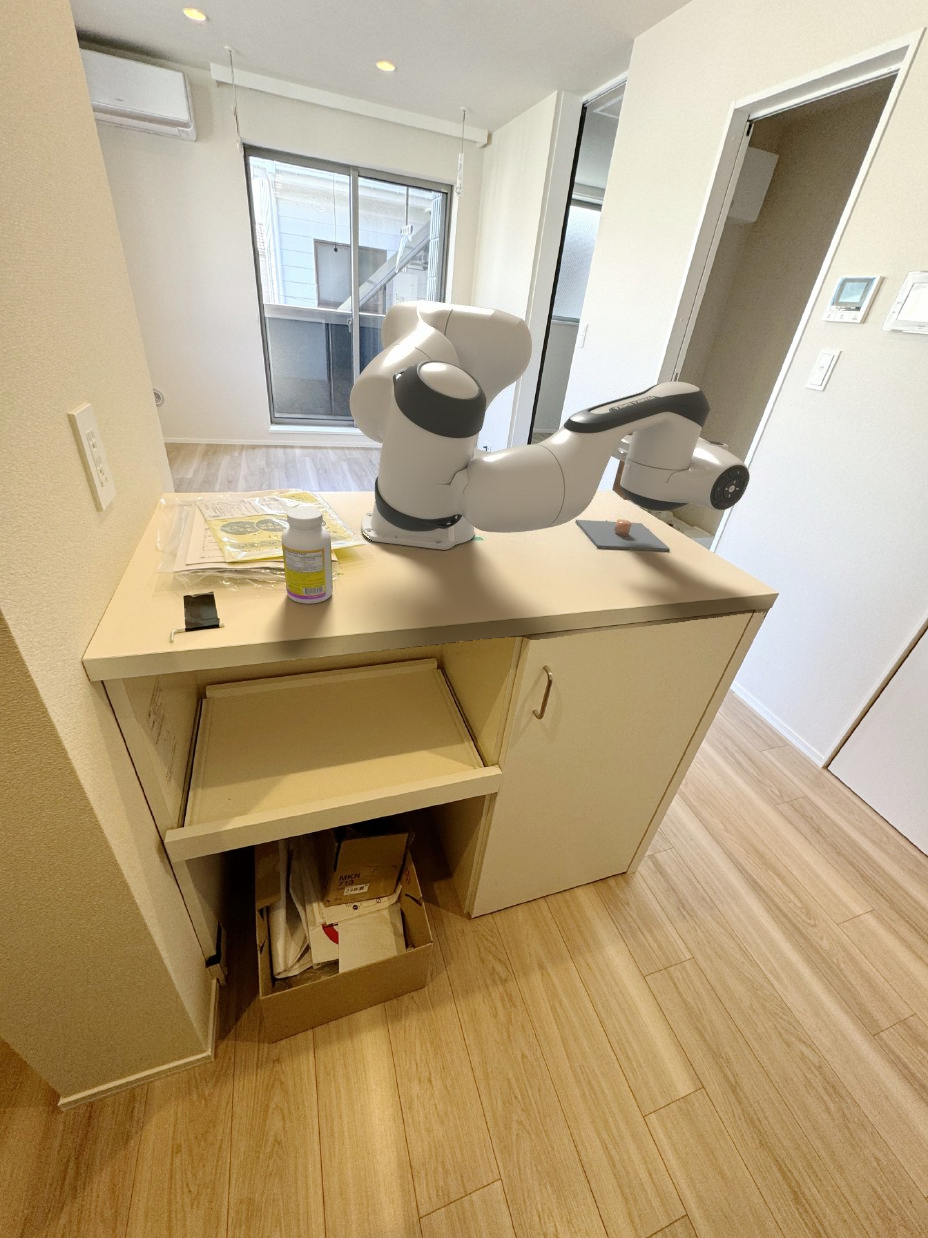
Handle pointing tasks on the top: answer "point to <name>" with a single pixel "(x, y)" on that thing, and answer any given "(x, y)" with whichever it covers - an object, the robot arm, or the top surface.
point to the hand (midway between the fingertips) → (645, 440)
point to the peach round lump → (622, 527)
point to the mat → (634, 540)
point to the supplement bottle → (307, 556)
